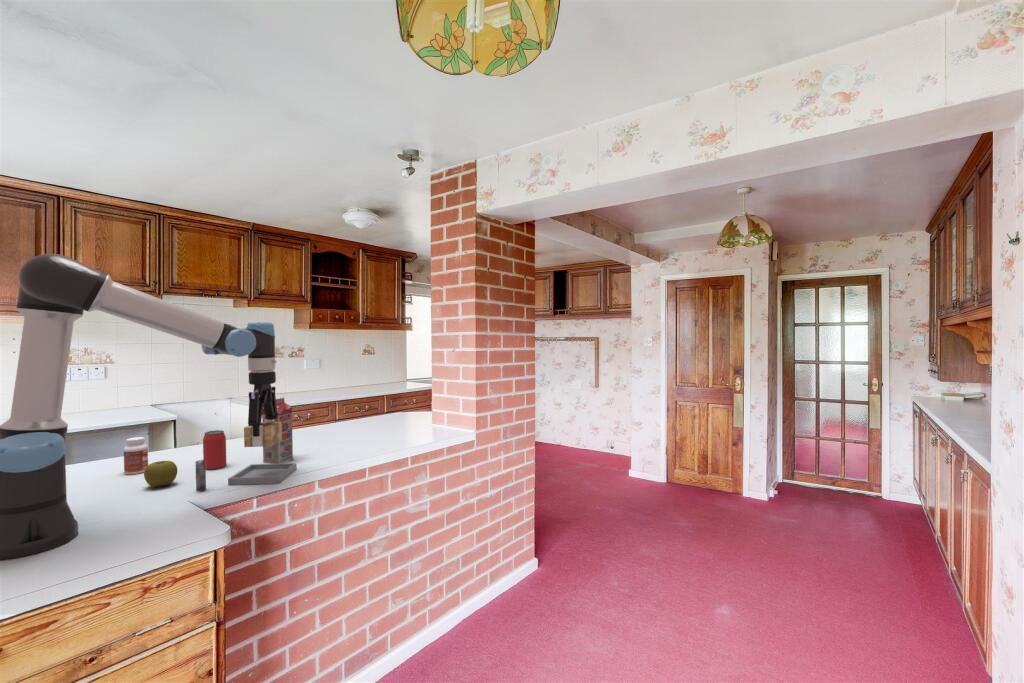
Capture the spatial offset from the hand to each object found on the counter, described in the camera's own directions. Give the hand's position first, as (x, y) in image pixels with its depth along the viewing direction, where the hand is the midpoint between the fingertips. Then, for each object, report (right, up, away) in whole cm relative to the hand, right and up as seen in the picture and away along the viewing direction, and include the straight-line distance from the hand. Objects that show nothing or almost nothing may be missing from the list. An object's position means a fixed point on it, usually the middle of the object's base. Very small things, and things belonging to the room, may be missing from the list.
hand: (264, 442), depth 148 cm
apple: (-26, -11, -8) cm, 30 cm away
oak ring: (0, 0, 0) cm, 0 cm away
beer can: (-22, -11, +10) cm, 27 cm away
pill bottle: (-45, -11, +5) cm, 46 cm away
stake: (-12, -11, -12) cm, 20 cm away
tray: (0, -11, 0) cm, 11 cm away
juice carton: (-4, -10, +18) cm, 21 cm away
